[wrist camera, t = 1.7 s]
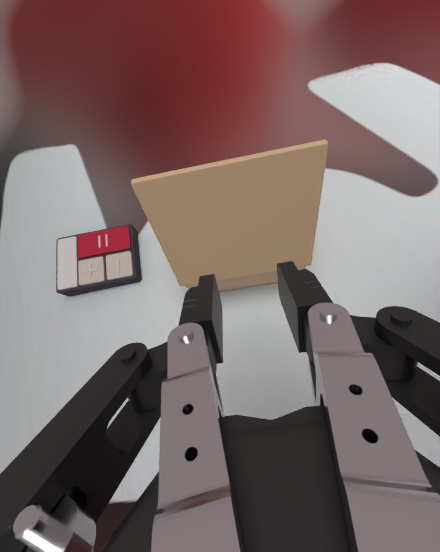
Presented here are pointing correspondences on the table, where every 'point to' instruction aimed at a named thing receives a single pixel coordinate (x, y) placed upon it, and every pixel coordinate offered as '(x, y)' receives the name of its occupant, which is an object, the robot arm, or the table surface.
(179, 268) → the lid
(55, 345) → the table surface
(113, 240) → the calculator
